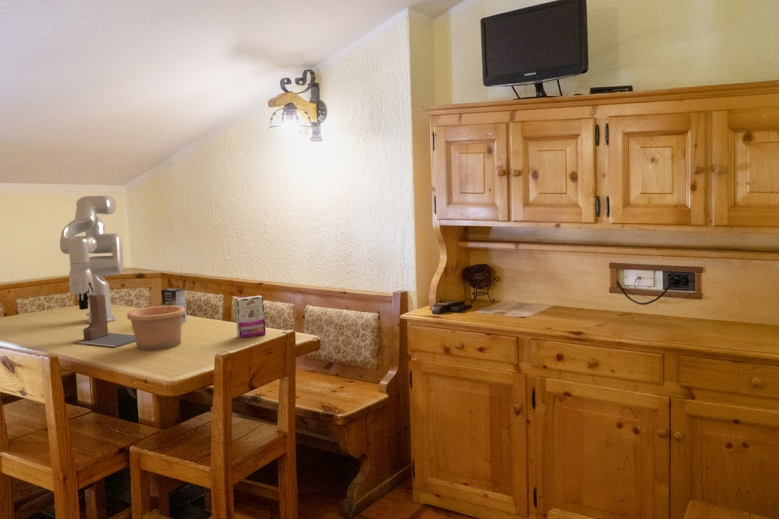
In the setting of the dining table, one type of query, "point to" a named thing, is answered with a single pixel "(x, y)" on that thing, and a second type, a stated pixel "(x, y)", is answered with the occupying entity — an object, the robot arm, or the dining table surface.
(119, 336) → the mat
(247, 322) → the candy bar box
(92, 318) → the brown boot
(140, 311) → the pottery
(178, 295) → the coffee box
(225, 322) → the dining table surface
